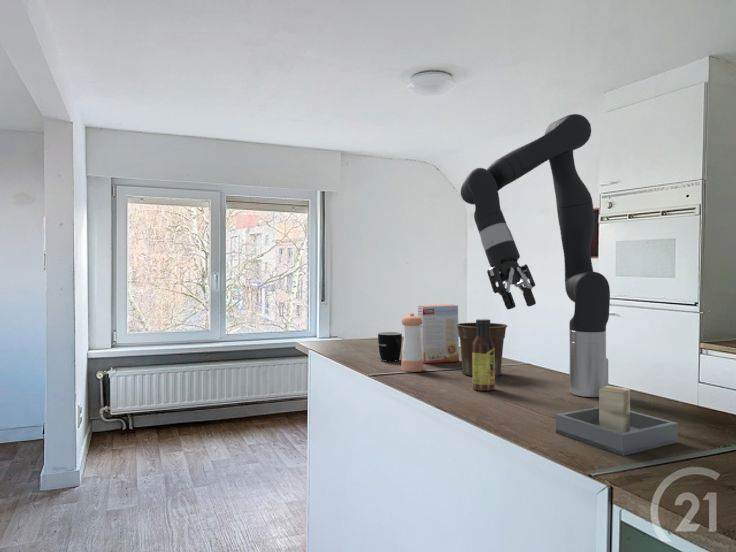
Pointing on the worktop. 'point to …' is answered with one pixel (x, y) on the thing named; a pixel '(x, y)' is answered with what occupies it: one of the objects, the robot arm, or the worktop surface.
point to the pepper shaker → (412, 344)
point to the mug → (390, 345)
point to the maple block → (614, 408)
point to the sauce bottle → (483, 357)
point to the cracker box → (439, 333)
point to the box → (640, 437)
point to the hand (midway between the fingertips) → (522, 306)
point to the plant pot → (466, 342)
